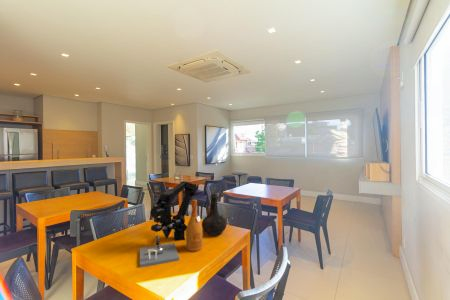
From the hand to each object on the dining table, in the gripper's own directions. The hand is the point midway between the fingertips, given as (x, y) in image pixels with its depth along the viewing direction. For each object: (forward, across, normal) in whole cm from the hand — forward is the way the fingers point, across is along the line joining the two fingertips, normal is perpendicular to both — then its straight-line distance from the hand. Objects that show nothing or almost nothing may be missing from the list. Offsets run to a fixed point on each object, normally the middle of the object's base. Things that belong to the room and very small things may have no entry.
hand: (166, 238), depth 140 cm
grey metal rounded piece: (+3, +11, +3) cm, 11 cm away
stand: (+5, +10, +7) cm, 13 cm away
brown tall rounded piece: (+5, -8, +17) cm, 19 cm away
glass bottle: (+5, -34, +10) cm, 36 cm away
